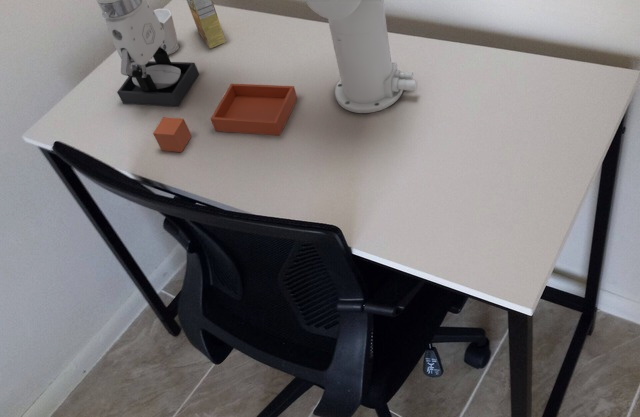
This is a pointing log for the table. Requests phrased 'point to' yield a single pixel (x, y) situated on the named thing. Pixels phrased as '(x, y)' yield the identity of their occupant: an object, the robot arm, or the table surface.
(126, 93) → the charcoal bin
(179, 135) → the terracotta block
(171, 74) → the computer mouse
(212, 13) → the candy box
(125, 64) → the robot arm
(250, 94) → the terracotta bin
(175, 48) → the cup
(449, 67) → the table surface
